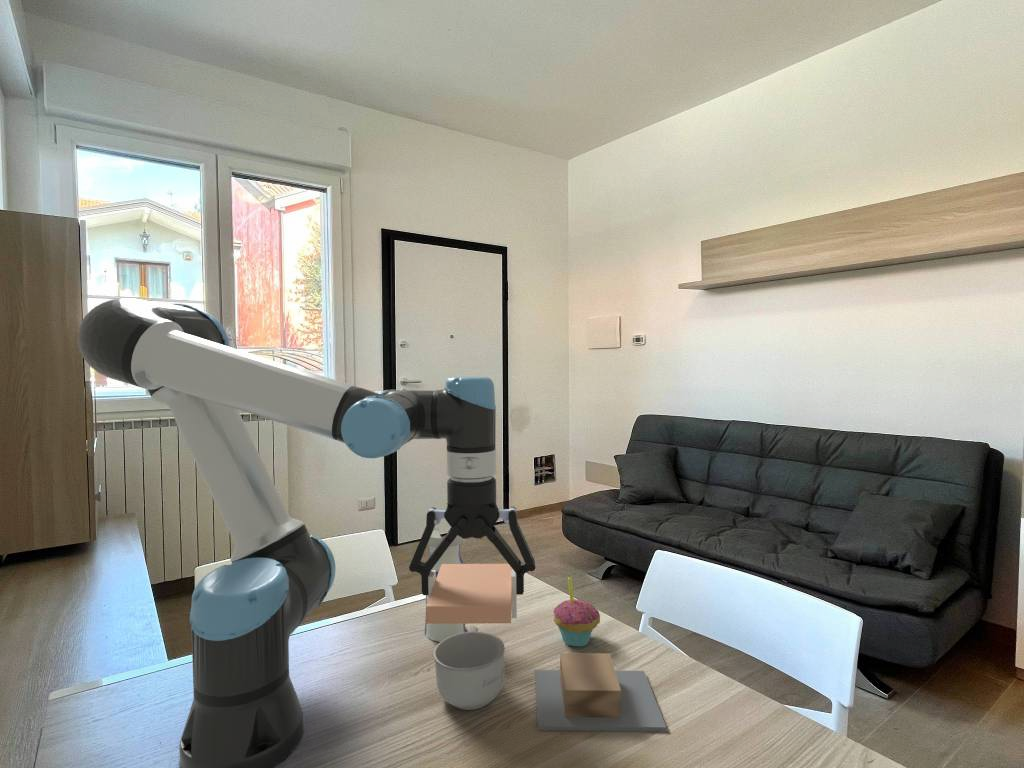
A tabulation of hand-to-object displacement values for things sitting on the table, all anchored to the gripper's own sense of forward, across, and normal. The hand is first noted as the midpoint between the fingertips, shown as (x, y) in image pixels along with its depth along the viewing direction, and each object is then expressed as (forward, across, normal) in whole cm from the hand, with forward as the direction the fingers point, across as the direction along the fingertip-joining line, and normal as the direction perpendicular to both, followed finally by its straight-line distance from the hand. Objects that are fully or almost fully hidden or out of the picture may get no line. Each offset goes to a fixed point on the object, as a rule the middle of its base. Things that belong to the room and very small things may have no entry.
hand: (473, 614), depth 87 cm
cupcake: (+13, +18, +16) cm, 27 cm away
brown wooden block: (+12, +18, -2) cm, 22 cm away
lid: (-2, 0, 0) cm, 2 cm away
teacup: (+13, 0, 0) cm, 13 cm away
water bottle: (+12, -7, +19) cm, 24 cm away
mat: (+13, +19, -2) cm, 23 cm away
